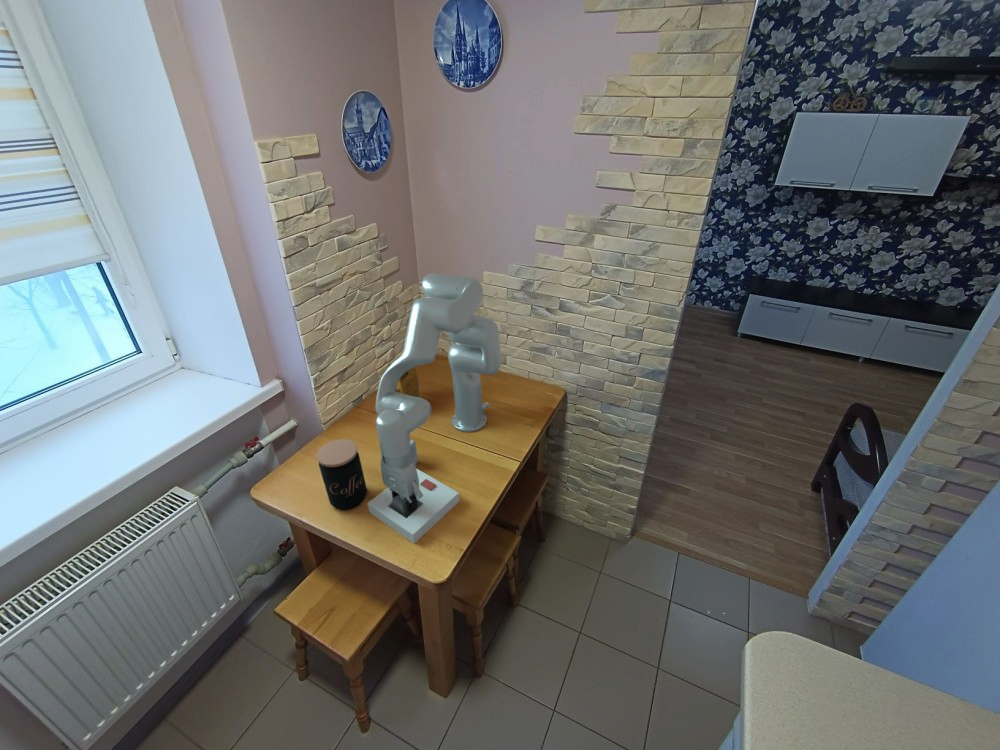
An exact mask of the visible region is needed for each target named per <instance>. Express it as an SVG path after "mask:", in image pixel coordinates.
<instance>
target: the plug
mask: <svg viewBox="0 0 1000 750" xmlns="http://www.w3.org/2000/svg"><path fill="white" fill-rule="evenodd" d="M412 495H413V493H412V494H411V496H412ZM411 496H410V497H411ZM392 501H393V506H394V511H396V512H397V513H399V514H400V515H402V516H403V517H405V518H408V517H409V516H410V515H411V514H412V513H413V512H414V511H416V510H417V509H418V506H417V507H416V508H415V509H413V510H412V511H411V512H408V510H407V504H406V501H407V498H406V497H403V496H401V495H400V494H397V495H396V496H395V497H394V498H393V499H392Z"/></svg>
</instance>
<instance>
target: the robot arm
mask: <svg viewBox="0 0 1000 750" xmlns="http://www.w3.org/2000/svg"><path fill="white" fill-rule="evenodd" d="M421 290H422V294H424V297H422V296H421V297H419V298H416V299H415V301H414V302H413V304H412V306H411V309H410V314H409V320H408V323H407V330H406V334H405V338H404V345H403V350H402V351H403V352H402V351H401V352H402V354H401V353H400V354H401V355H400V354H399V356H398V357H397V358H396V359H395V360H393V361H392V362H393V363H392V362H391V363H392V364H391V365H390V366H387V368H386V370H385V371H384V373H383V374H382V376H381V378H380V380H379V383H378V388H377V392H376V398H375V411H376V414H377V416H376V419H375V427H376V432H377V437H378V442H379V448H380V453H381V454H380V455H381V457H380V471H381V478H382V483H383V484H384V486H385V487H387V488H388V487H389V489H390V491H392V497H393V498H394V497H395V496H396V495H397V494H400V495H401V496H403V497H406V498H407V501H406V504H407V510H408V512H411V511H412V510H413V509H415V508H416V507H417V505H418V504H417V499H420V498H421V497H423V494H422V492H421V491H420V489H419V478H418V474H417V470H416V469H417V467H416V465H415V463H414V461H413V459H412V450H411V444H410V440H411V439H410V437H411V436H410V434H411V433H413V432H414V431H415V430H417V429H418V428H420V427H422V426H423V425H424V424H425V423H426V422H427V421H428V420H429V418H430V416H431V413H432V405H431V403H430V402H429V401H428V400H427V399H425V398H422V397H420V398H419V397H414V396H409V395H405V394H400V393H395V389H396V385H397V382H398V380H399V378H400V377H401V376H402V375H403V374H404V373H405V372H406V371H408V370H409V369H411V368H414V367H415V368H416V367H420V366H423V365H428V364H431V363H433V362H434V361H435V359H436V355H437V350H438V344H439V340H440V335H441V332H445V333H447V336H448V337H449V340H450V341H451V342H452V344H451V345H450V346H449V348H448V351H447V358H448V359H447V360H448V363H449V367H450V370H451V374H452V375H451V376H452V384H453V398H454V411H455V413H454V414H453V415H452V418H451V424H452V426H453V428H455V429H456V430H457V431H460V432H465V433H470V432H471V433H472V432H473V433H474V432H476V431H479V430H481V429H483V428H484V427H485V425H487V421H488V420H487V419H488V417H487V415H486V414H485V413H484V412H485V411H486V409H487V408H489V407H490V406H491V405H490V403H489V402H488V401H485V402H484V403H483V399H482V397H483V396H482V395H483V394H482V380H481V379H482V378H481V375H488V376H493V375H495V374H497V373H498V372H499V370H500V368H501V365H502V364H501V363H502V353H501V350H502V349H501V340H500V332H499V327H498V324H497V322H496V321H495V320H493V319H491V318H488V317H483V316H476V315H474V314H475V312H476V311H477V310H478V308H479V306H480V304H481V302H482V301H483V296H484V295H483V294H484V289H483V285H482V283H481V281H479V280H478V279H476V278H474V277H473V278H472V277H466V276H458V275H452V274H444V273H442V274H441V273H437V272H436V273H435V272H433V273H432V272H431V273H428V274H426V275H425V276H424V277H423V278H422V281H421ZM480 374H481V375H480ZM412 493H413V495H412V496H411V494H412ZM410 496H411V497H410Z"/></svg>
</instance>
